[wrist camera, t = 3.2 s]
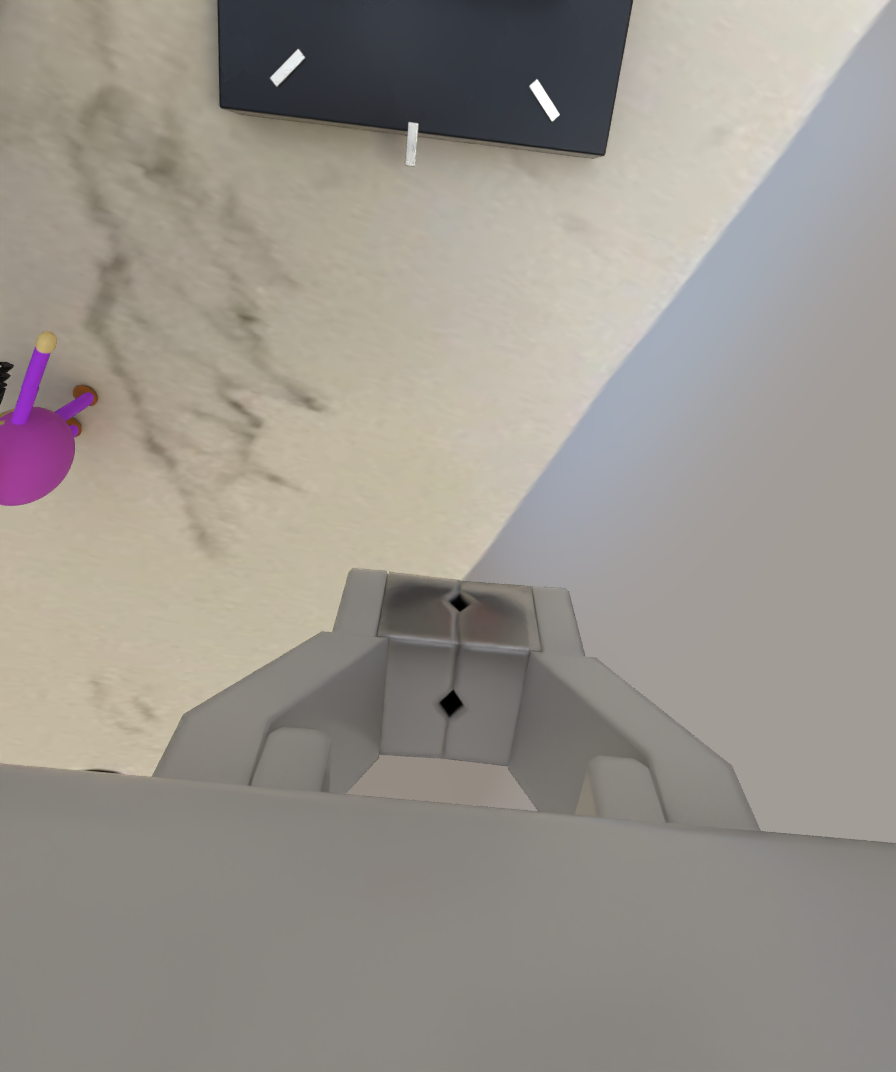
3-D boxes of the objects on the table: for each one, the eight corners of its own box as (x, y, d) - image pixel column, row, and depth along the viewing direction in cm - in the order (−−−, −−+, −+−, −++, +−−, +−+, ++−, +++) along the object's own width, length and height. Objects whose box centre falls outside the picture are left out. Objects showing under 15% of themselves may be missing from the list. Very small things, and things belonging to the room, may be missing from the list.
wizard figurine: (98, 288, 32) (-99, 341, 21) (167, 327, 32) (11, 398, 21) (22, 495, 36) (-173, 628, 25) (85, 526, 36) (-80, 669, 26)
